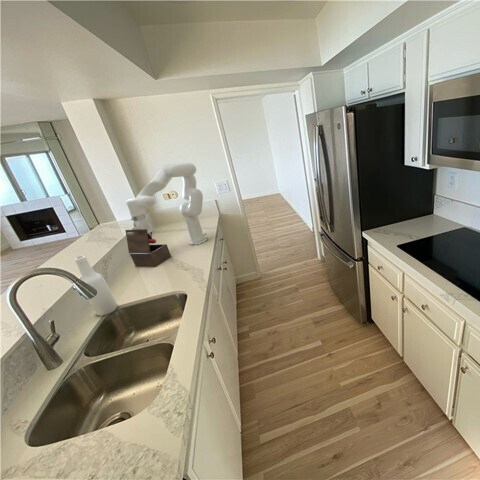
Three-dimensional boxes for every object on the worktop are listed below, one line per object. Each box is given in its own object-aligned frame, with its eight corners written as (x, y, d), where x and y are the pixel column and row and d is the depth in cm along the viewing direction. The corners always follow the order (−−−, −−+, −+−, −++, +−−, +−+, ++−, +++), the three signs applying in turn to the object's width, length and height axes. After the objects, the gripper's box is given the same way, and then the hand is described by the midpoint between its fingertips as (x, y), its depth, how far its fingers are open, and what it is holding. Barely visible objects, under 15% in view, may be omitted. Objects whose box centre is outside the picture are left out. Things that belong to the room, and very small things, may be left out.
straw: (140, 244, 179) (138, 240, 178) (143, 242, 182) (142, 238, 181) (154, 244, 176) (153, 240, 175) (158, 242, 179) (156, 238, 178)
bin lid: (126, 229, 172) (119, 230, 167) (147, 229, 168) (140, 230, 163) (130, 252, 174) (122, 254, 170) (150, 252, 170) (143, 254, 166)
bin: (152, 256, 191) (147, 244, 187) (171, 256, 187) (166, 244, 183) (135, 266, 178) (129, 253, 174) (155, 266, 174) (150, 253, 170)
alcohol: (104, 306, 136) (77, 254, 124) (121, 303, 137) (96, 252, 125) (92, 317, 128) (61, 263, 116) (110, 314, 128) (82, 260, 117)
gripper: (133, 221, 164) (143, 248, 171) (153, 213, 178) (162, 238, 185) (123, 222, 166) (134, 248, 173) (144, 213, 180) (153, 238, 187)
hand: (149, 243), depth 179 cm, fingers closed on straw, 3 cm apart
